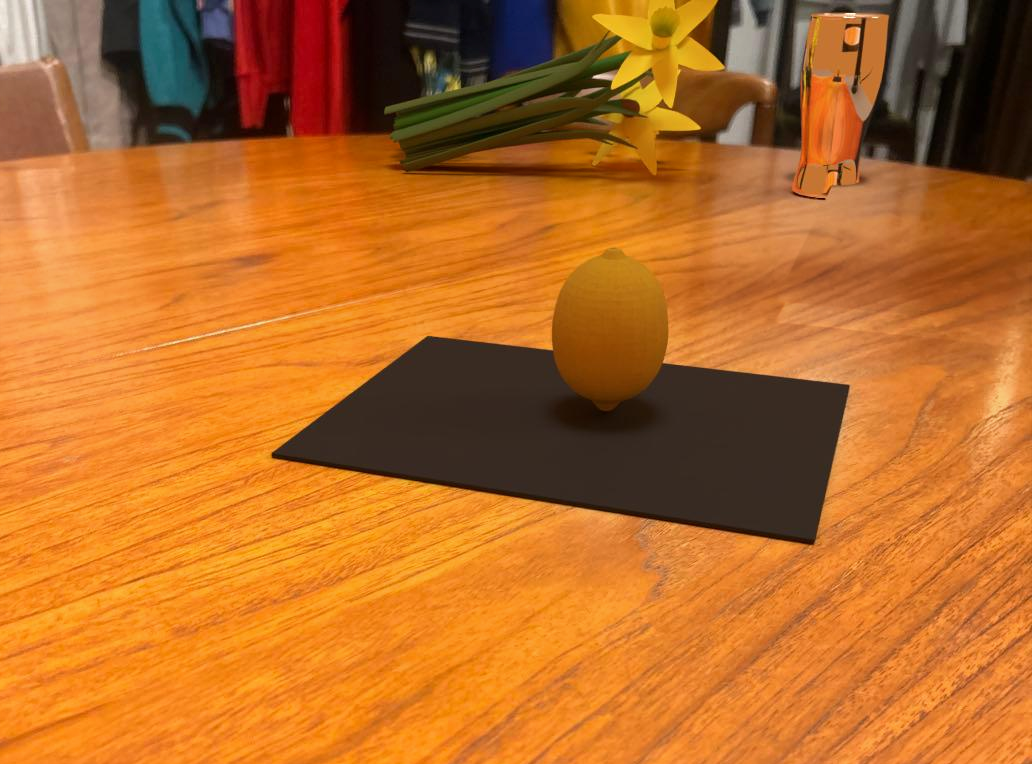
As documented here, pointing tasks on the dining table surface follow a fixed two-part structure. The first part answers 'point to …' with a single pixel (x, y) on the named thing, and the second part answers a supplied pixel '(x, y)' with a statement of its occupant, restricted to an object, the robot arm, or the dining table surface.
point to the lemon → (610, 329)
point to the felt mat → (592, 437)
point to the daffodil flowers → (568, 95)
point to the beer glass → (838, 97)
